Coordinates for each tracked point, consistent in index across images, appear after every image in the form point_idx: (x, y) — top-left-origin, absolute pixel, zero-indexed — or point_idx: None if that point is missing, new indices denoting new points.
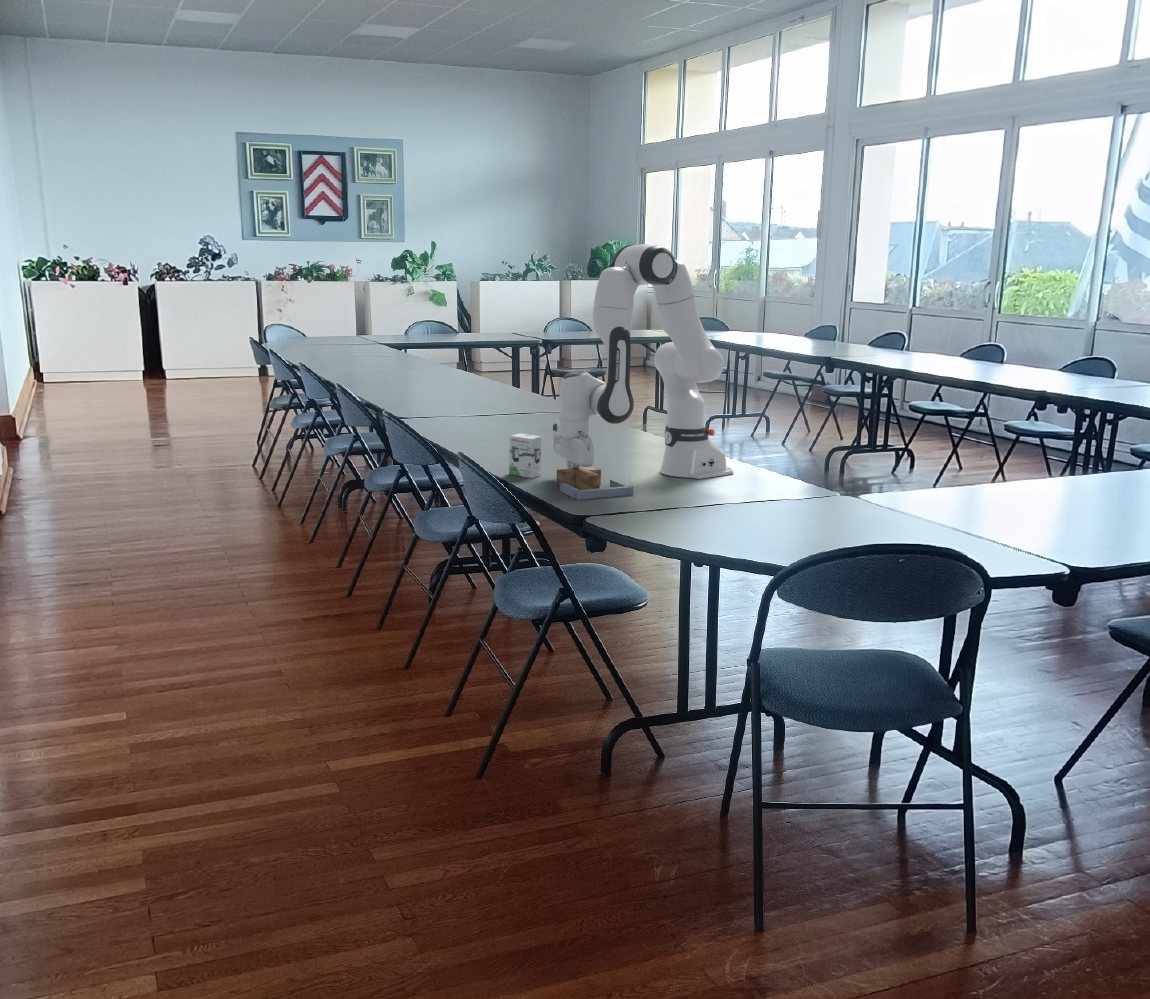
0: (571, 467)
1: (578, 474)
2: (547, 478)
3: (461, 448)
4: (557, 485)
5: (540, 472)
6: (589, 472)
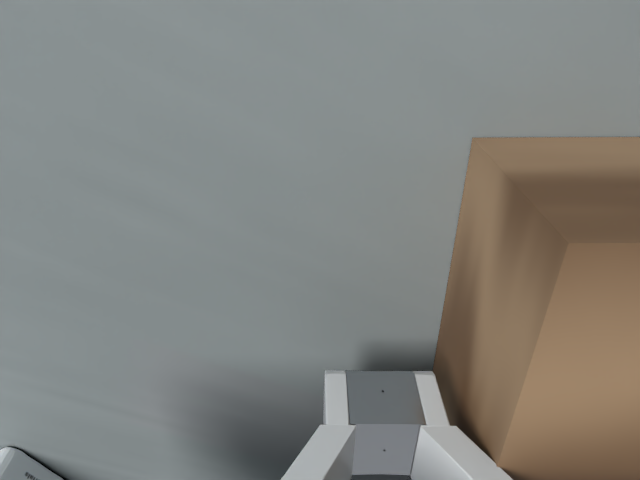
0: (339, 477)
1: None
2: (140, 440)
3: None
4: None
5: (4, 475)
6: None
